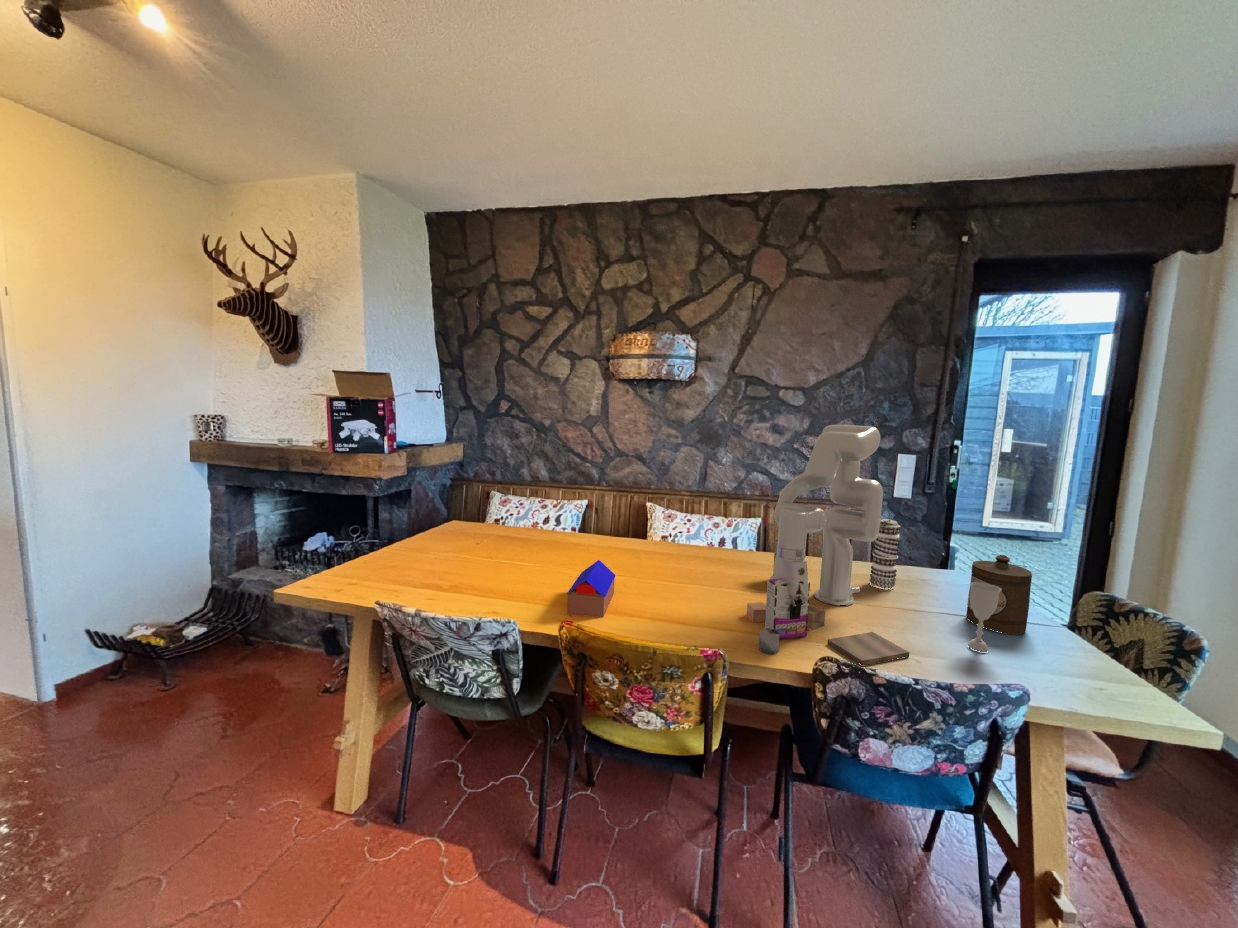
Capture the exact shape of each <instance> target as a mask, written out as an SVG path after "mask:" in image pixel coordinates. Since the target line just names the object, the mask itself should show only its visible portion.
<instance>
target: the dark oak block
mask: <svg viewBox="0 0 1238 928" xmlns="http://www.w3.org/2000/svg"><path fill="white" fill-rule="evenodd" d="M826 611H827V610H826V609H824V608H821V607H819V606H816V605H813V604H810V603H809V607H808V624H807V630H810V629H811V630H810V631H814V630H817V629H820V628H822V627H825V622H826Z"/></svg>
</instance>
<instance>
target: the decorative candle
mask: <svg viewBox="0 0 1238 928" xmlns="http://www.w3.org/2000/svg"><path fill="white" fill-rule="evenodd" d="M900 529H901V525H900V524H899V523H898V521H896V520H894V519H889V518H881V519H880V528H879V534H878V537H877V539H876V540H875V541H873V542H872V544H871V546H872V550H871V552H872V555H873V557H872V559H873V560H872V563H871V566H870V569H871V570H870V573H871V574H869V577H870V578H869V583H870V582H871V585H872V586H878V587H881V588H884V589H885V588H890V589H891V588H892V587H894V586H896V581H897V579H896V577H897V559H899V554H900V553H899V551H900V548H898V547H899V546H901V543H900V542H901V541H902V539H900ZM872 586H871V587H872Z"/></svg>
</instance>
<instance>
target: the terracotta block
mask: <svg viewBox="0 0 1238 928" xmlns="http://www.w3.org/2000/svg"><path fill="white" fill-rule="evenodd" d="M746 616H747V617H748V619H750V621H751V622H753V623H761V622H763V623H765V618H766V604H764V603H763V602H747V604H746Z"/></svg>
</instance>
